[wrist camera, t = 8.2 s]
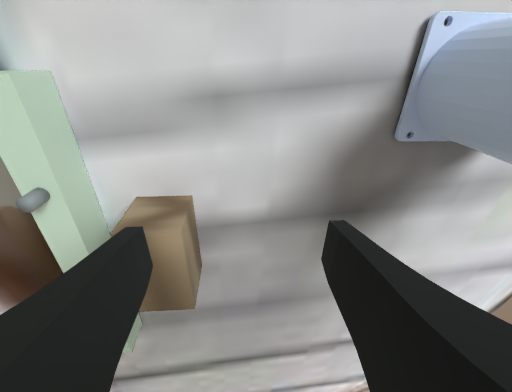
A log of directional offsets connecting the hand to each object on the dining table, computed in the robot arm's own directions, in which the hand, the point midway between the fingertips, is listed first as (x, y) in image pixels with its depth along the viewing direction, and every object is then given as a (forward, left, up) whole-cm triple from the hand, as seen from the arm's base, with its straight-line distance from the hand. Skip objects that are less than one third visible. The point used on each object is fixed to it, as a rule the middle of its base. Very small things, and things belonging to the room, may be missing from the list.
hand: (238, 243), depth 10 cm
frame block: (+6, +8, -11) cm, 14 cm away
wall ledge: (+13, +8, -10) cm, 18 cm away
